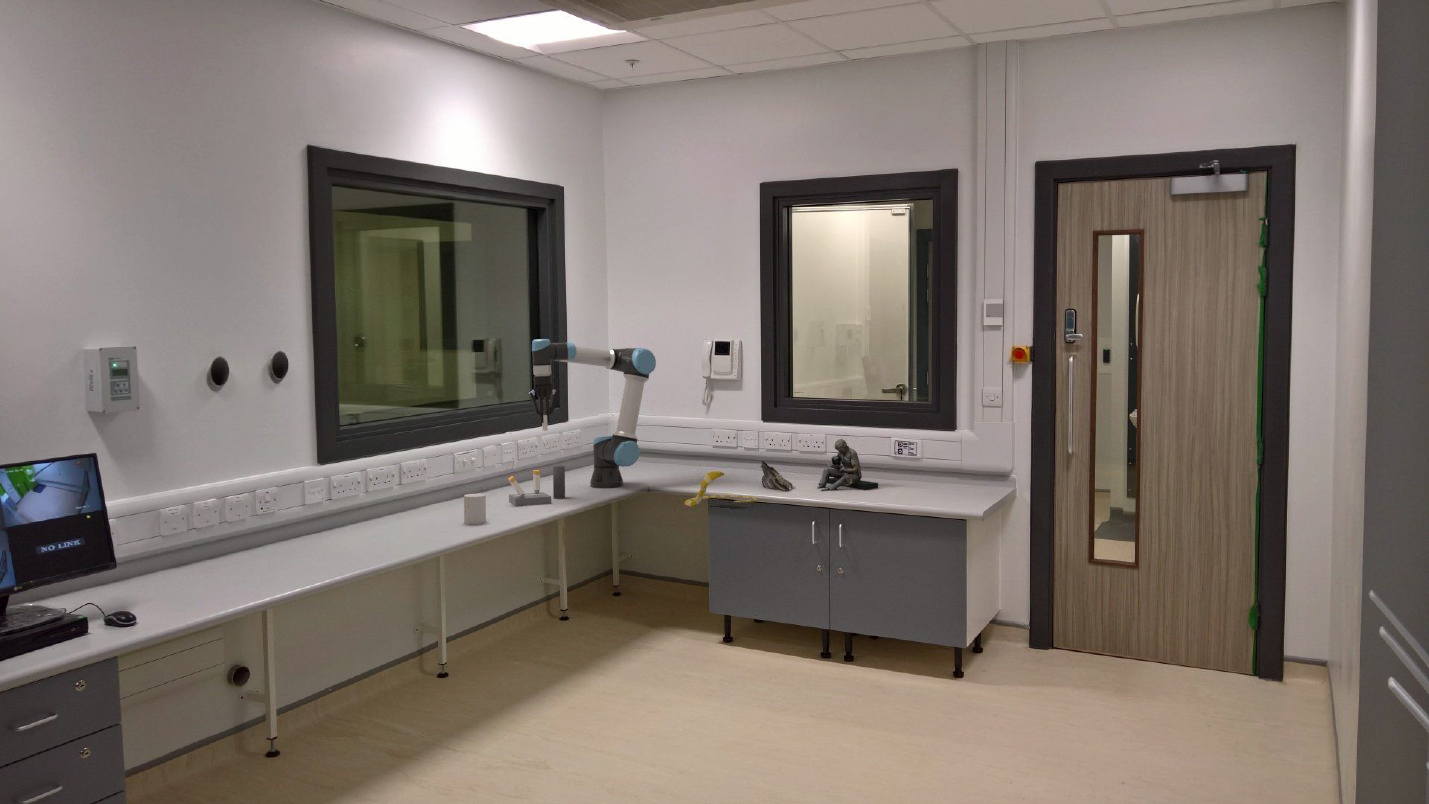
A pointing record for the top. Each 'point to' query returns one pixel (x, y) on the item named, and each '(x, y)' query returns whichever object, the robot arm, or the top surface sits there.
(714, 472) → the toy
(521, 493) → the paddle
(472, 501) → the light grey upright cylinder
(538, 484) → the paddle
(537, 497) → the grey tube rack
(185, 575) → the top surface
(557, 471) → the post
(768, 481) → the brown ridged tapered piece
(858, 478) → the figurine
